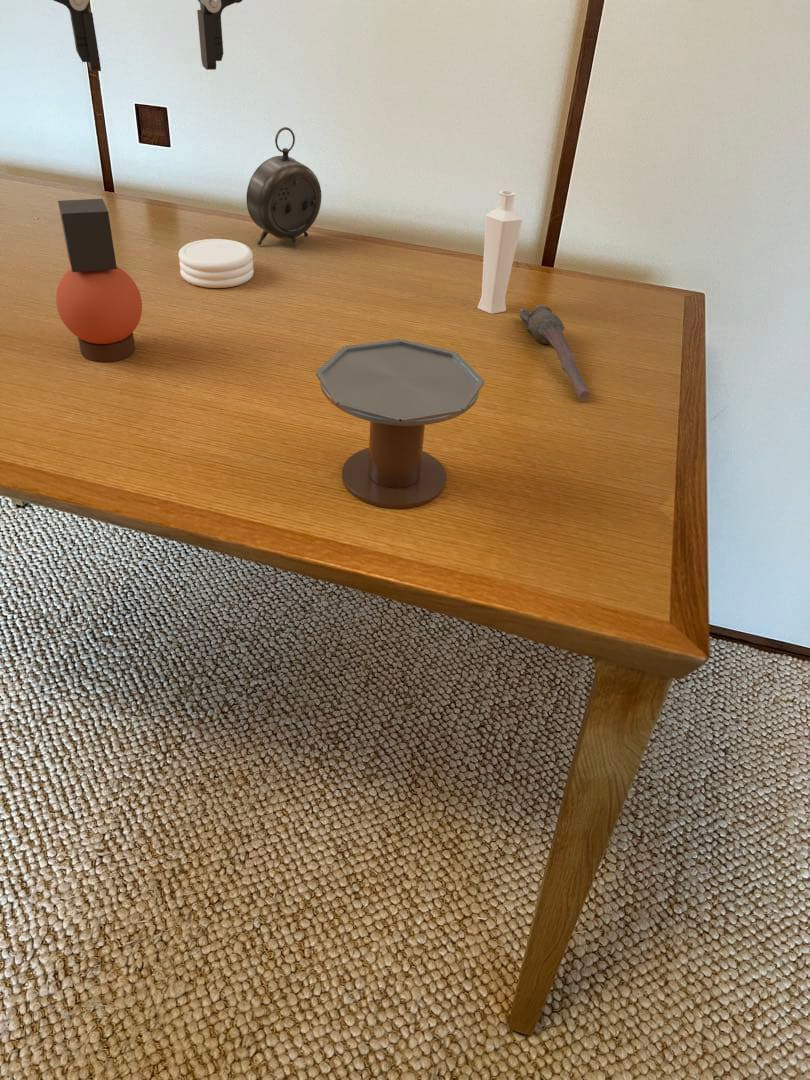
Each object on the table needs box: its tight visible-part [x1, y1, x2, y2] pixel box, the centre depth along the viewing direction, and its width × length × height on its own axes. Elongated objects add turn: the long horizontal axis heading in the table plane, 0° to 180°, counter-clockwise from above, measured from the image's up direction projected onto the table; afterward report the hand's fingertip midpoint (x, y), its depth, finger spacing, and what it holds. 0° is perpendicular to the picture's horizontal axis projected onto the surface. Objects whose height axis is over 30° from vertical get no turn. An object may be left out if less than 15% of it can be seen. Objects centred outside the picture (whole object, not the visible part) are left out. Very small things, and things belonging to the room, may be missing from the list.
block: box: [57, 198, 118, 272], centre depth 86 cm, size 4×4×6 cm
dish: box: [315, 338, 485, 510], centre depth 74 cm, size 14×14×11 cm
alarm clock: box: [245, 126, 322, 248], centre depth 119 cm, size 11×5×16 cm, turn 130°
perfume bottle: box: [476, 189, 523, 315], centre depth 106 cm, size 5×4×15 cm
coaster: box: [178, 238, 255, 289], centre depth 112 cm, size 10×10×4 cm
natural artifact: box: [519, 304, 591, 403], centre depth 99 cm, size 4×23×4 cm, turn 5°
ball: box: [55, 266, 143, 363], centre depth 91 cm, size 9×9×10 cm
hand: (153, 68), depth 62 cm, fingers open, 8 cm apart
